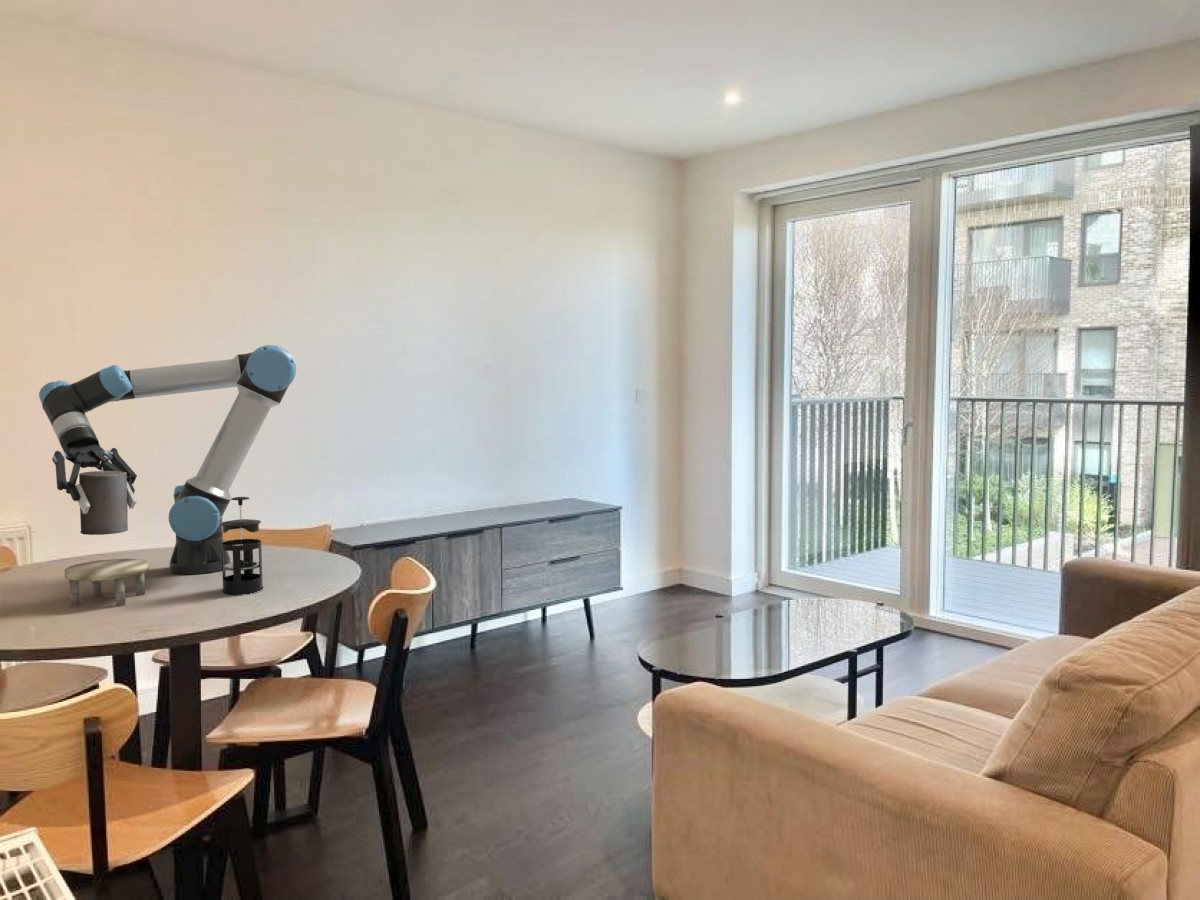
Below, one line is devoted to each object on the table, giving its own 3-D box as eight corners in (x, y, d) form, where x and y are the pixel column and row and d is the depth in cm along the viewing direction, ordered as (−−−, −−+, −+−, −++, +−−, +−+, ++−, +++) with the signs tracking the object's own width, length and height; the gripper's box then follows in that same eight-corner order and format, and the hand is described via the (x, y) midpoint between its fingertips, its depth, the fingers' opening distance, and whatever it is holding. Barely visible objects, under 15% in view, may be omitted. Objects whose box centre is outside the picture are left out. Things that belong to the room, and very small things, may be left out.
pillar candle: (71, 535, 197) (69, 469, 196) (95, 527, 206) (94, 464, 205) (114, 535, 197) (112, 469, 196) (137, 528, 207) (135, 465, 205)
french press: (257, 595, 207) (254, 499, 206) (215, 596, 206) (212, 500, 205) (269, 584, 219) (267, 493, 217) (230, 585, 218) (227, 494, 216)
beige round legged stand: (162, 590, 212) (160, 558, 211) (129, 608, 195) (127, 573, 194) (89, 591, 211) (88, 559, 210) (50, 610, 194) (48, 574, 193)
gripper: (119, 443, 218) (153, 512, 210) (19, 449, 200) (53, 523, 192) (128, 423, 214) (164, 492, 206) (28, 426, 197) (62, 502, 189)
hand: (110, 507), depth 199 cm, fingers closed on pillar candle, 9 cm apart
